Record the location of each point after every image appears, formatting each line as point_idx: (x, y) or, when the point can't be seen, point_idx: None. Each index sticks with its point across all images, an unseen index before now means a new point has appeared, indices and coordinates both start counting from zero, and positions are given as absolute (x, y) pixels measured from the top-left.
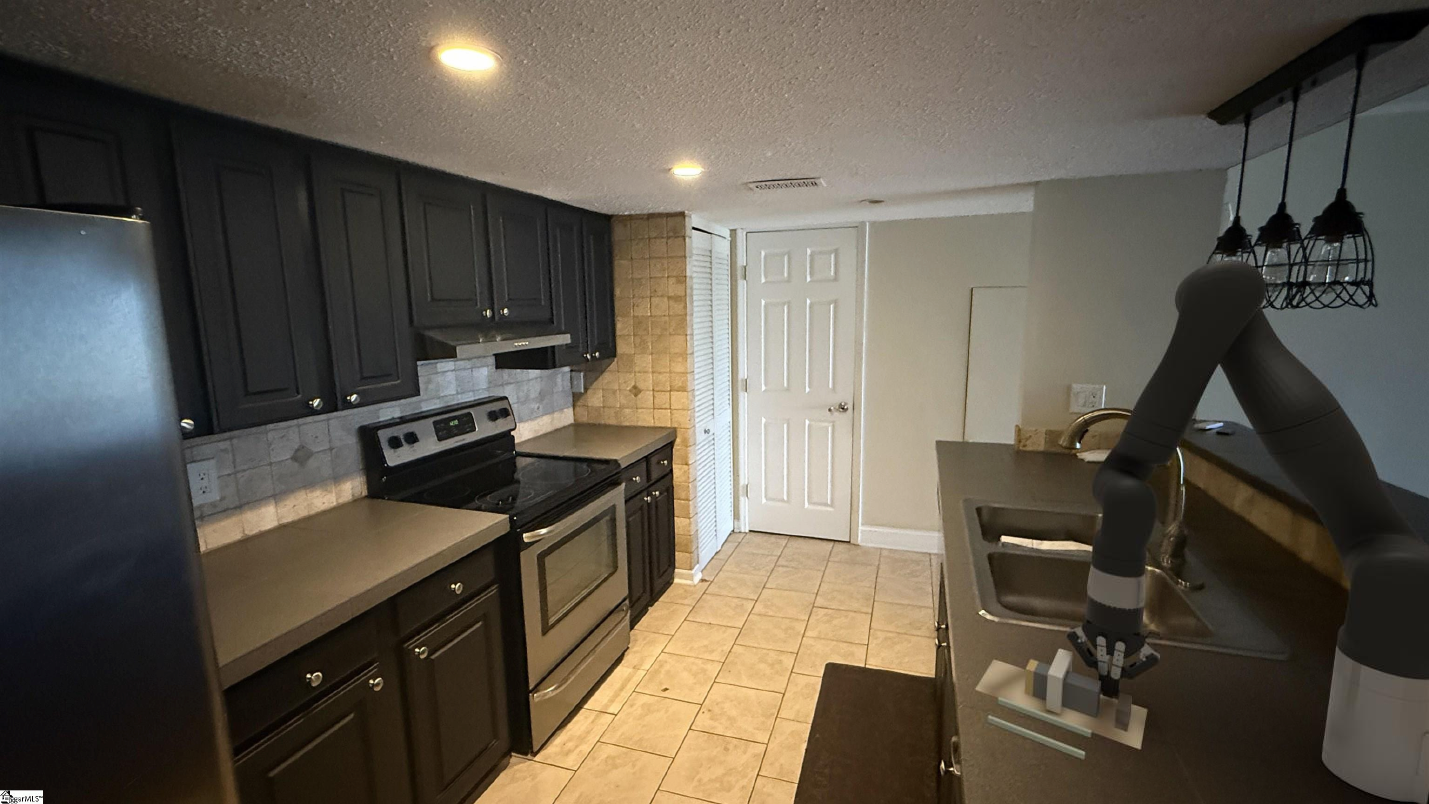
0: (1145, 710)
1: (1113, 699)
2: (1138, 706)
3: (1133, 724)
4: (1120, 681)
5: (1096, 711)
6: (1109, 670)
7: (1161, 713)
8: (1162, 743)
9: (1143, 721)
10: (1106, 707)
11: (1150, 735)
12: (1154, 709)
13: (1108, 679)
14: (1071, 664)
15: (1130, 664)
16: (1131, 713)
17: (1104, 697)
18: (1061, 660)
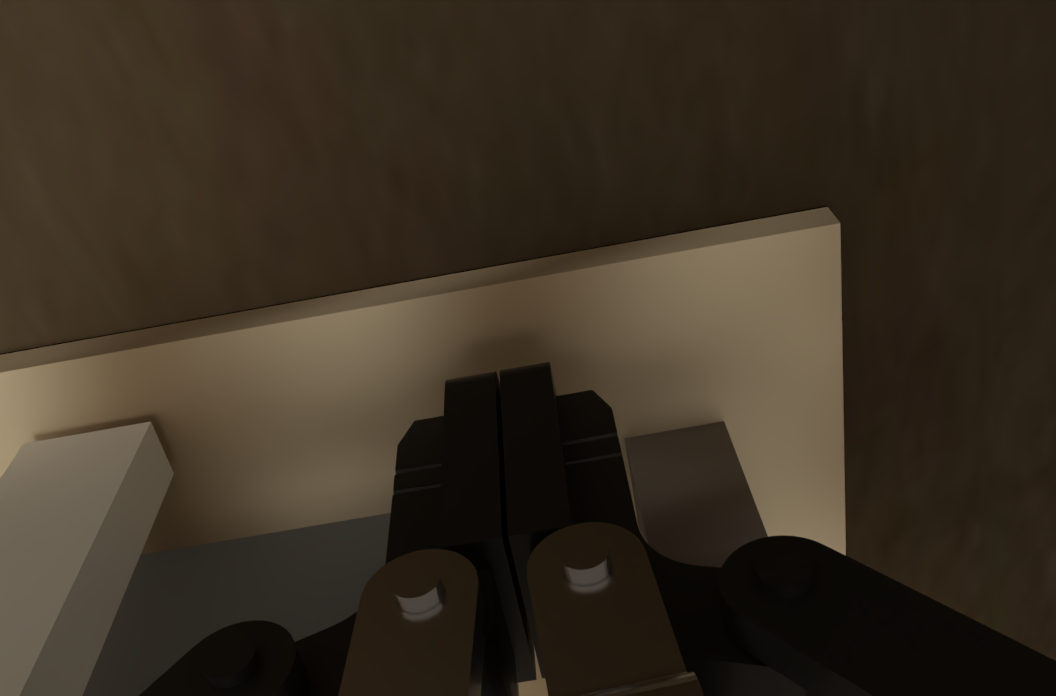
0: (825, 256)
1: (535, 303)
2: (758, 235)
3: (766, 525)
4: (628, 485)
5: (517, 691)
6: (487, 540)
7: (949, 106)
8: (965, 522)
9: (829, 432)
10: None
11: (881, 495)
12: (883, 84)
13: (533, 655)
14: (67, 668)
15: (805, 687)
16: (725, 399)
17: (457, 330)
18: None
